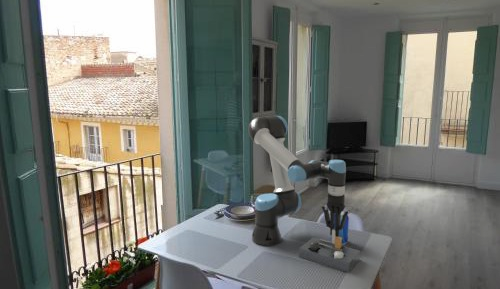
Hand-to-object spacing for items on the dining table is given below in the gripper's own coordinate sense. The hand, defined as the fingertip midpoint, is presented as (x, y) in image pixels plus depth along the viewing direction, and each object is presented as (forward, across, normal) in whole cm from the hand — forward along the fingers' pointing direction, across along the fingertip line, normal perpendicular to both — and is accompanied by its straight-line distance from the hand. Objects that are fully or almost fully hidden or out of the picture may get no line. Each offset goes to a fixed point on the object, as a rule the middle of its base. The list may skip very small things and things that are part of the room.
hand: (334, 242), depth 165 cm
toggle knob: (+2, +2, 0) cm, 3 cm away
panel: (+7, -1, -4) cm, 8 cm away
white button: (+5, +5, -7) cm, 10 cm away
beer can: (+7, -4, +16) cm, 17 cm away
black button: (+3, -7, -7) cm, 10 cm away
